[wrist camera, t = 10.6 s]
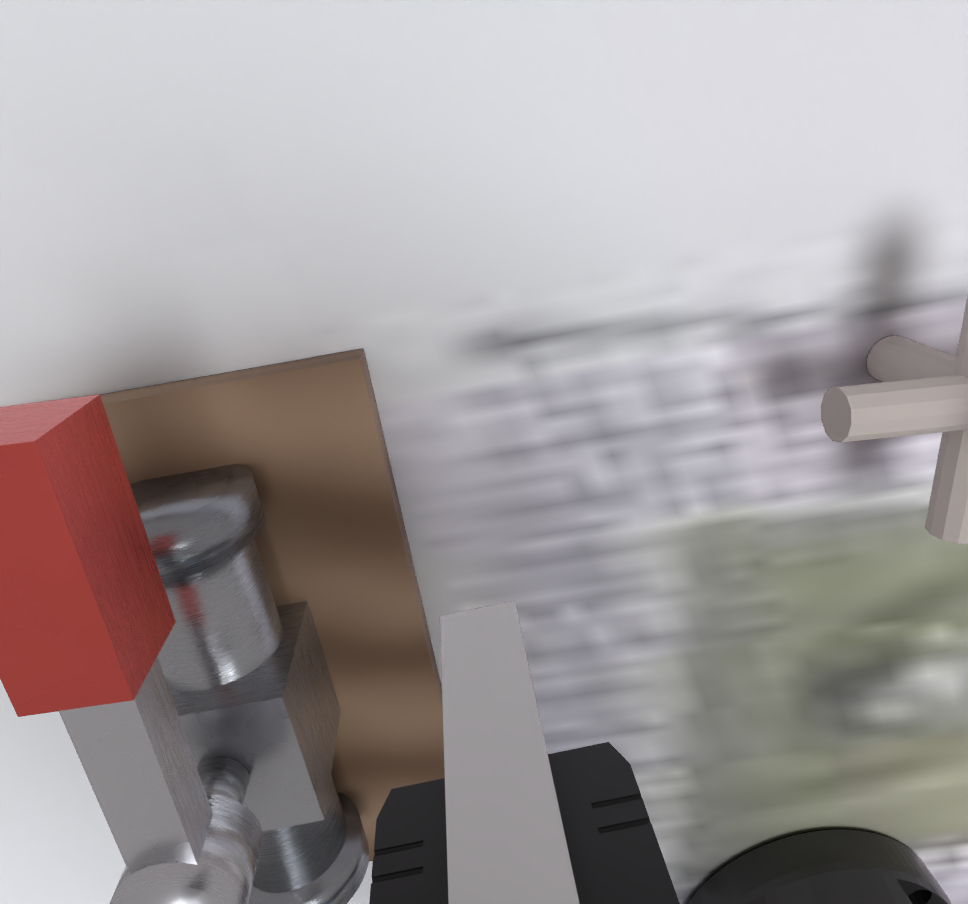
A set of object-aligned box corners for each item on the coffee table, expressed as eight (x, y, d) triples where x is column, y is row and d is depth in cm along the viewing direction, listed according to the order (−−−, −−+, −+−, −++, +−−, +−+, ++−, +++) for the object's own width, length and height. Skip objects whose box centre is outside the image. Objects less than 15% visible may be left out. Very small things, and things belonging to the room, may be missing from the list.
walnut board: (470, 815, 35) (472, 841, 34) (191, 867, 35) (182, 896, 34) (363, 348, 26) (359, 358, 25) (-17, 415, 26) (-42, 429, 24)
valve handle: (121, 391, 16) (60, 437, 14) (274, 867, 23) (253, 965, 20) (-36, 411, 16) (-129, 462, 14) (160, 884, 22) (124, 986, 20)
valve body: (373, 802, 33) (359, 989, 26) (254, 824, 33) (205, 1017, 26) (267, 452, 26) (206, 567, 19) (117, 479, 26) (-5, 605, 19)
